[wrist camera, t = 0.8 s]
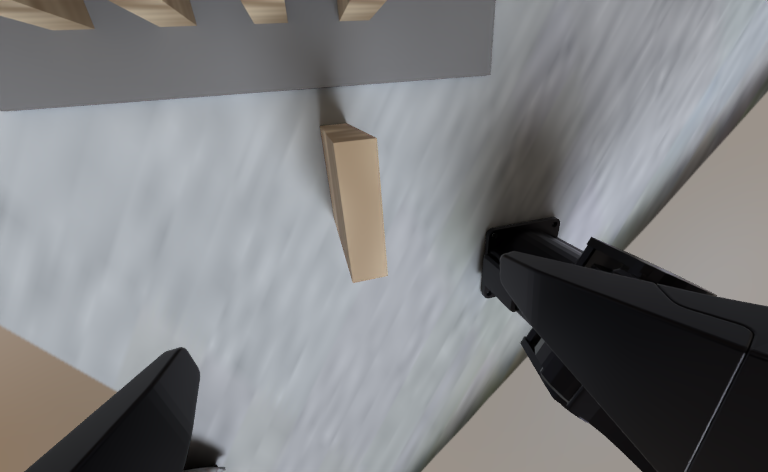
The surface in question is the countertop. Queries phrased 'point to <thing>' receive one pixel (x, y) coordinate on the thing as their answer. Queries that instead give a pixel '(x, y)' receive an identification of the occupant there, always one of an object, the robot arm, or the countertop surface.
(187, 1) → the wooden block
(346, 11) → the domino
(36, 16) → the domino
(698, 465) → the robot arm
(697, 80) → the countertop surface
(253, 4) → the domino
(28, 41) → the slate mat
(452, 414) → the countertop surface
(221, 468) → the lucky cat figurine
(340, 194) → the domino
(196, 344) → the countertop surface
